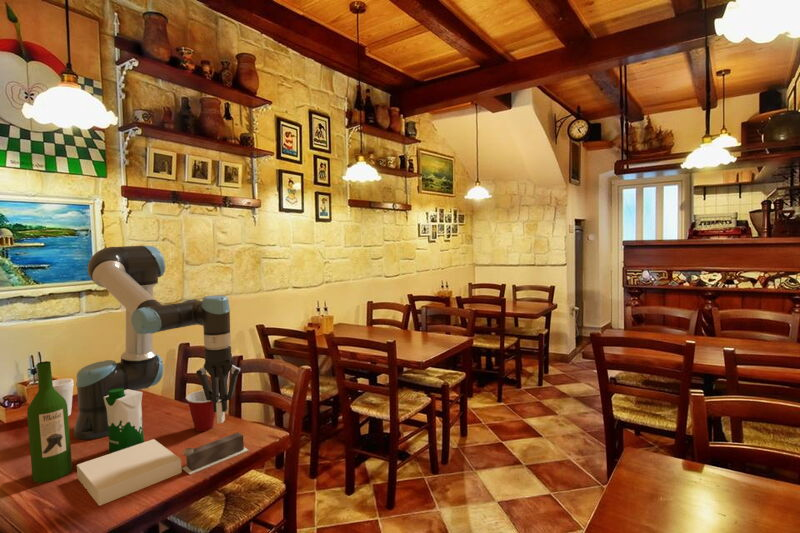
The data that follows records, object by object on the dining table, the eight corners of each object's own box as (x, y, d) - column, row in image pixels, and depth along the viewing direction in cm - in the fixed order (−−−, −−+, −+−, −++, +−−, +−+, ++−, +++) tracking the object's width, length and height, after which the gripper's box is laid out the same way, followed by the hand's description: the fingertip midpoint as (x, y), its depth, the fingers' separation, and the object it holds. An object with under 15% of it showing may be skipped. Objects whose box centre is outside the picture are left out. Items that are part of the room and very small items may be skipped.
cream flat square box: (77, 478, 124) (76, 464, 124) (154, 451, 139) (153, 439, 139) (99, 505, 111) (98, 490, 110) (181, 472, 126) (180, 459, 125)
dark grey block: (187, 472, 125) (186, 453, 124) (182, 468, 127) (181, 450, 126) (243, 449, 138) (242, 431, 137) (238, 446, 140) (237, 429, 139)
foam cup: (49, 413, 172) (46, 381, 171) (78, 409, 176) (75, 377, 175) (41, 422, 164) (38, 388, 163) (72, 417, 168) (69, 384, 167)
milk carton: (104, 453, 138) (99, 390, 137) (132, 440, 147) (128, 381, 145) (122, 458, 135) (117, 394, 133) (150, 445, 143) (146, 384, 142)
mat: (182, 468, 128) (182, 467, 128) (240, 445, 141) (240, 444, 141) (190, 474, 124) (189, 473, 124) (248, 450, 138) (248, 449, 138)
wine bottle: (40, 486, 120) (30, 368, 118) (27, 477, 125) (17, 364, 123) (78, 471, 128) (69, 360, 126) (64, 463, 133) (55, 356, 130)
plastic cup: (209, 436, 149) (207, 401, 148) (180, 433, 151) (178, 399, 150) (227, 422, 159) (226, 389, 159) (201, 420, 162) (199, 388, 161)
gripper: (190, 350, 131) (194, 427, 133) (235, 349, 132) (238, 426, 134) (200, 344, 138) (204, 417, 140) (243, 343, 139) (246, 415, 141)
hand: (221, 421), depth 137 cm, fingers closed
